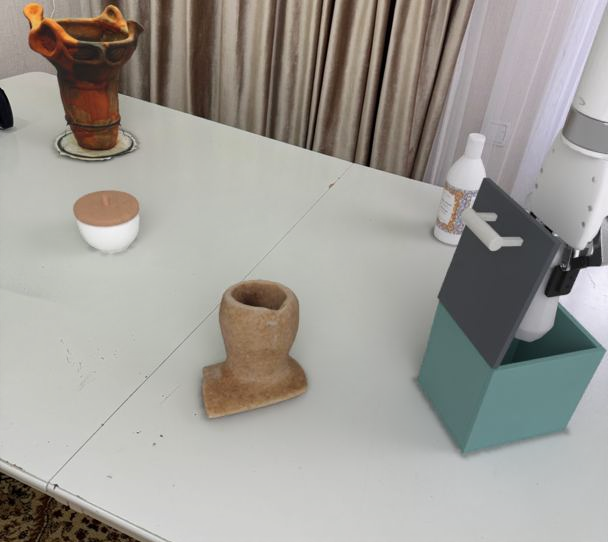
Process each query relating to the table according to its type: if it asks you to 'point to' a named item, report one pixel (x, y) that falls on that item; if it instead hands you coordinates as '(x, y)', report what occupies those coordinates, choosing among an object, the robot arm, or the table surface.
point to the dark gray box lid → (496, 270)
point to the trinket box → (108, 219)
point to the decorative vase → (87, 76)
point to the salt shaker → (541, 307)
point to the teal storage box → (507, 382)
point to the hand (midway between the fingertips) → (544, 280)
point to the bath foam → (460, 190)
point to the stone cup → (255, 350)
